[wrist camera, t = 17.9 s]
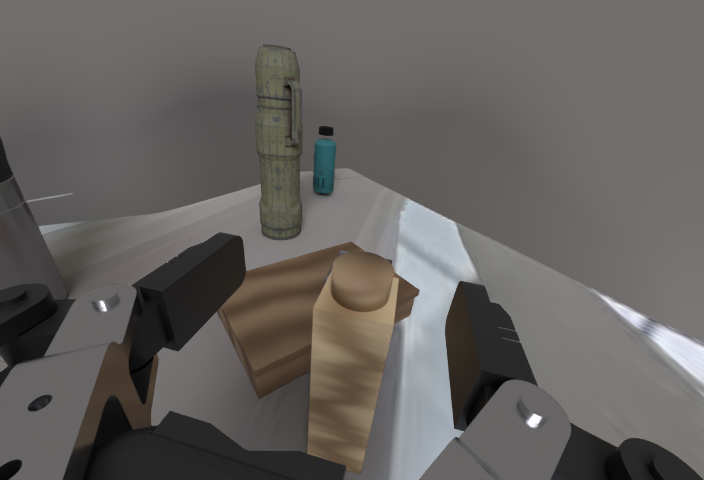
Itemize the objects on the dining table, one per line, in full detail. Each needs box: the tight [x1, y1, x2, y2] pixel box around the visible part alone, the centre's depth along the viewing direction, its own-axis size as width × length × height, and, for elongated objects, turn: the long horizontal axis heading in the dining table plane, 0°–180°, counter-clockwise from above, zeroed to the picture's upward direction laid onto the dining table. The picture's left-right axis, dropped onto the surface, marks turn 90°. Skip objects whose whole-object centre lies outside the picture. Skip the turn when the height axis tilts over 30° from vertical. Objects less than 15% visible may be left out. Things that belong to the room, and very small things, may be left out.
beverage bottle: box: [313, 126, 336, 193], centre depth 84 cm, size 6×7×20 cm
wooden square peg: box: [307, 251, 399, 474], centre depth 23 cm, size 5×5×20 cm
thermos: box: [255, 45, 302, 240], centre depth 57 cm, size 9×12×35 cm
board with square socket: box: [217, 242, 419, 399], centre depth 41 cm, size 17×25×8 cm
